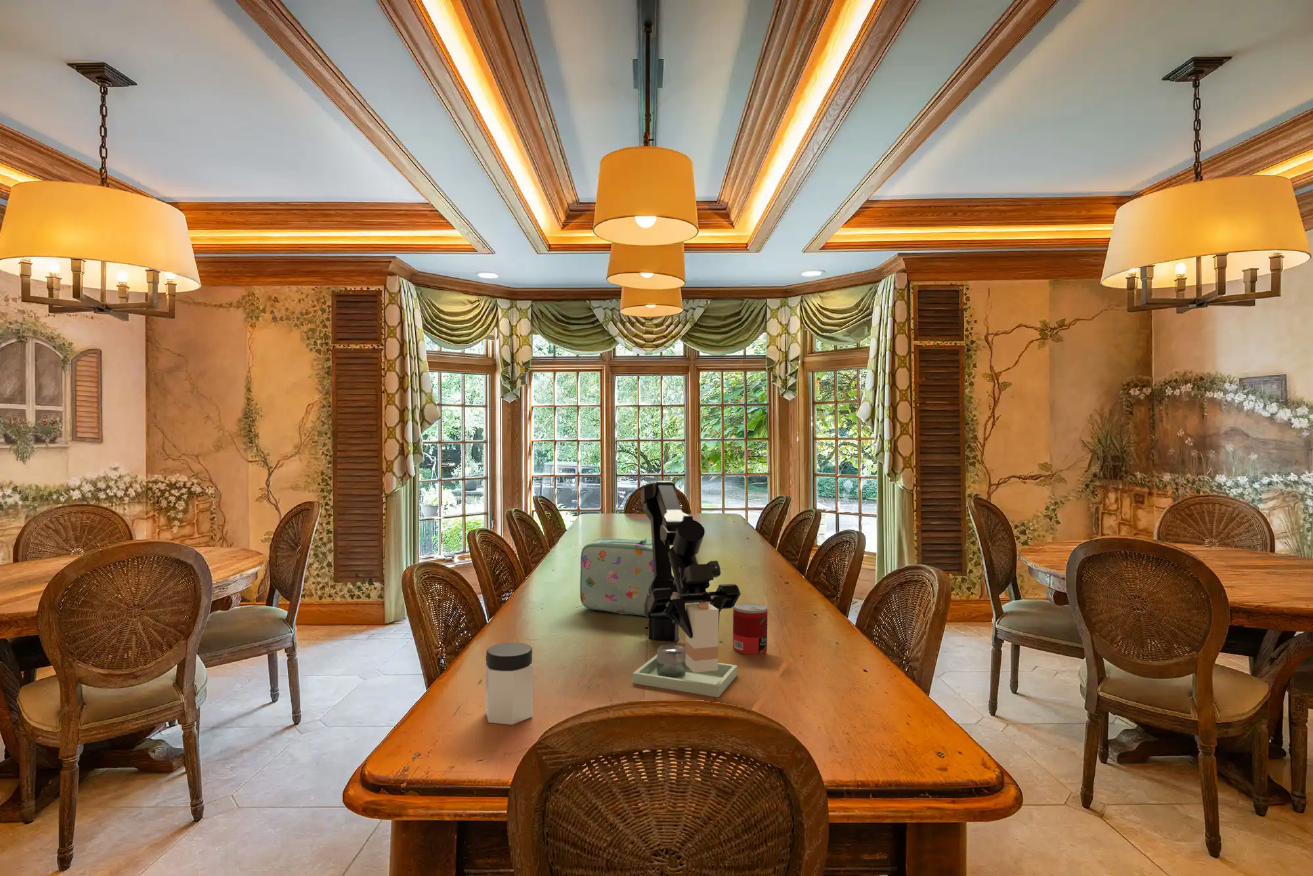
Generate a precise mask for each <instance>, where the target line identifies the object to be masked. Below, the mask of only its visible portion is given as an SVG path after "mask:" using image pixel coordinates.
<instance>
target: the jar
mask: <svg viewBox="0 0 1313 876" xmlns="http://www.w3.org/2000/svg"><path fill="white" fill-rule="evenodd" d="M485 652H486V653H485V654H486V655H485V715H486V719H487V723H489V724H499V725H510V726H512V725H515V724H518V723H520V722H523V721H525V720H528V719H530V718H532V717H533V716H534V715H533V714H534V713H533V711H534V710H533V709H534V707H533V706H534V705H533V704H534V699H533V697H534V665H533V647H532V646H531V645H529V644H528V643H523V642H502V643H498V644H497V643H496V644H494V645H492V646H490V647H488V648H487V649H486V651H485Z"/></svg>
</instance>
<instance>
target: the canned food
mask: <svg viewBox="0 0 1313 876" xmlns="http://www.w3.org/2000/svg"><path fill="white" fill-rule="evenodd" d="M732 610H733V613H732V650H733V651H735V652H737V653H740V654H745V655H767V652H768V607H767V605H764V604H763V603H757V602H750V601H749V602H747V601H746V602H738V603H737V602H736V603H735V605H734V607H732Z"/></svg>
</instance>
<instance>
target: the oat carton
mask: <svg viewBox="0 0 1313 876" xmlns="http://www.w3.org/2000/svg"><path fill="white" fill-rule="evenodd" d="M685 609H686V612H687V615H688V619H689V622H690V625H691V628H692V633H693V637H692V638H689V637H688V635H687V634H686V633H685V645H684V646H685V647H684V648H685V653H686V654H685V664H686V665H687V666H688V667H689V668H690V669H691V670H692V671H693V672H694V673H695V672H705V671H714V670H718V663H719V631H718V618H719V619H720V615H719V609H717V608H716V607H714V606H712V605H711V604H709V603H708V602H699V603H691V604H685Z"/></svg>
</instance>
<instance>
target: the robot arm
mask: <svg viewBox="0 0 1313 876" xmlns="http://www.w3.org/2000/svg"><path fill="white" fill-rule="evenodd" d="M679 501H680V500H679V499H678V496H677V487H676V484H675V482H674V481H672V480H656V481H653V483H652V484H648V485H644V486H643V488H642V489H641V491H640V503H641V504H642V506H643V512H644V514H645V515H646V517H647V518H648V519H649V520H650V529H651V530H650V531H651V540H652V550H653V566H654V579H653V581H652V583H651V585H650V587H649V594H647V597H646V601H645V605H644V609H645V615H646V616H645V617H646V619H648V640H654V641H657V642H658V641H659V642H669V643H676V642H677V641H678V640H679V639H680V635H679V627H680V629H681V630H682V631H683V632H684V633H685V635H686V634H687V635H688V637H689V638H692V637H693V633H692V628H691V625H690V622H689V619H688V615H687V612H686V604H699V602H708V603H709V604H711V605H712V606H714V607H716V608H717V609H719V616H720V613H721V612H722V610H728V609H733V607H734V605H735V604H737V602H738V599H739V598H740V596H741V590H740V588H739V586H738V585H737V584H736V583H725V584H724V583H723V584H719V585H718V586H717V588H716V590H715V591H707V590H706V589H709V587H710V586H711V585H710V582H711V581H714V579H715V578H719V577H720V576H721V573H722V572H721V571H722V570H721V567H720V564H719V561H718V560H710V561H708V562H707V563H699V562H698V559H697V555H698V554H699V553H700V552H699V551H700V549H701V546H702V543H703V539H704V536H705V527H704V526H703V524H701V523H700V522H699V521H697V520H695V519H694V518H693V516H692V515H689V514H687V513H686V512H683V510H682V507H681V505H680V502H679ZM719 626H720V617H719V618H718V632H719V630H720V629H719V628H720V627H719Z"/></svg>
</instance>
